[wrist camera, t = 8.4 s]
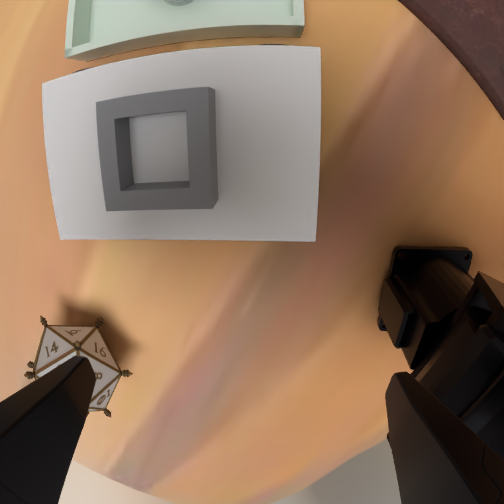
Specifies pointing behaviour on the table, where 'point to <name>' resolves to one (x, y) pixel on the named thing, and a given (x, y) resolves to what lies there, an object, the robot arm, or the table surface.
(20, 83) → the table surface
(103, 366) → the game die
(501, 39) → the notebook
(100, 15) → the tray
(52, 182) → the white socket plate
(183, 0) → the pin
